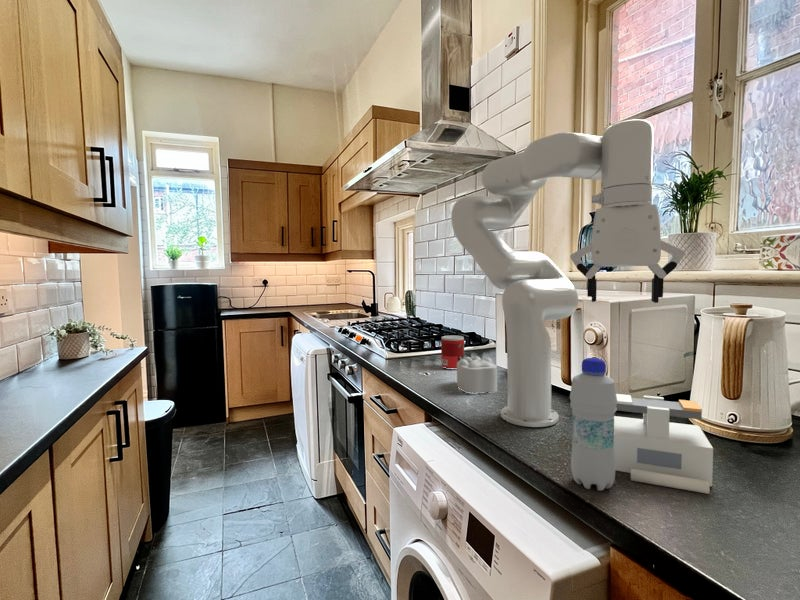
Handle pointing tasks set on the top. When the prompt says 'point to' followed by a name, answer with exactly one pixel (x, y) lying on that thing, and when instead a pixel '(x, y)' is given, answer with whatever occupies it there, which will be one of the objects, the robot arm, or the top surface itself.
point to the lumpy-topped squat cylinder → (477, 375)
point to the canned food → (452, 350)
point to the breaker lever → (676, 408)
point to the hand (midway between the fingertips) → (623, 301)
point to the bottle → (593, 425)
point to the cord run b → (670, 481)
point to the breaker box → (662, 445)
